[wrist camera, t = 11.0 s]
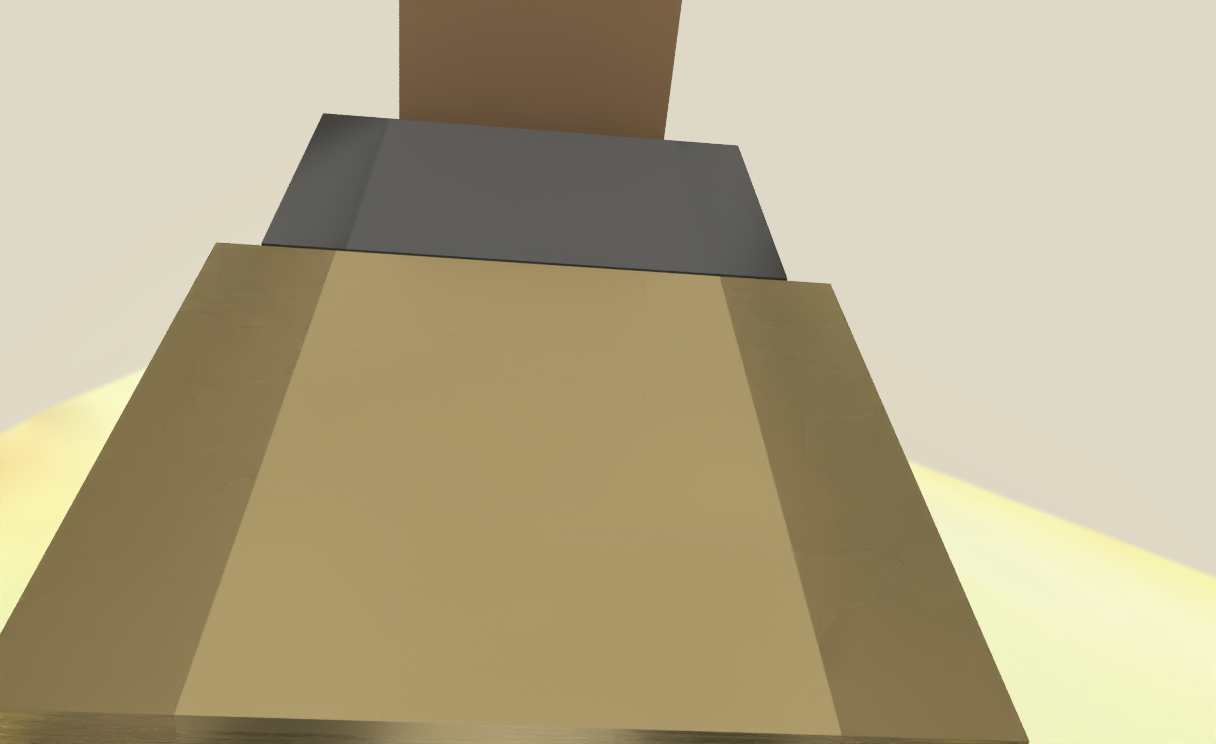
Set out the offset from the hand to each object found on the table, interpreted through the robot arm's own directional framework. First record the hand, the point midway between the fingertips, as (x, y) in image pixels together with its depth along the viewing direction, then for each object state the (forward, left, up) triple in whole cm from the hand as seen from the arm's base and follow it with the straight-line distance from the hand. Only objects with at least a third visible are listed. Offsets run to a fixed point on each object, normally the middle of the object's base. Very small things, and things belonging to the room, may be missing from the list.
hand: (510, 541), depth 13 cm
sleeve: (0, +2, -3) cm, 4 cm away
